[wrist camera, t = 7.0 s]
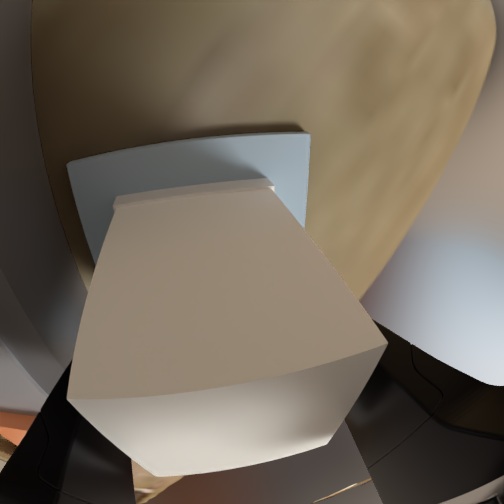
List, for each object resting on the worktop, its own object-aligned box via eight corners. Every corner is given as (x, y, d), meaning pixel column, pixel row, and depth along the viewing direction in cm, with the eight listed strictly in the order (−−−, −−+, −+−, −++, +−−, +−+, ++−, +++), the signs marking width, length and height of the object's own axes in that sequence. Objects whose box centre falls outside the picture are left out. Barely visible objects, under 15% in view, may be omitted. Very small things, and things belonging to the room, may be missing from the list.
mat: (126, 331, 12) (125, 337, 12) (70, 161, 8) (66, 164, 7) (292, 304, 14) (295, 309, 14) (305, 131, 9) (310, 134, 9)
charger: (146, 308, 11) (153, 477, 6) (116, 195, 9) (57, 395, 3) (264, 291, 12) (329, 444, 7) (267, 177, 10) (395, 337, 4)
